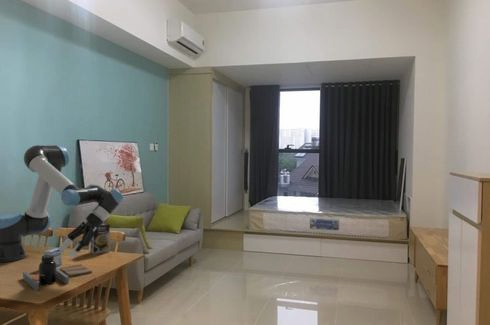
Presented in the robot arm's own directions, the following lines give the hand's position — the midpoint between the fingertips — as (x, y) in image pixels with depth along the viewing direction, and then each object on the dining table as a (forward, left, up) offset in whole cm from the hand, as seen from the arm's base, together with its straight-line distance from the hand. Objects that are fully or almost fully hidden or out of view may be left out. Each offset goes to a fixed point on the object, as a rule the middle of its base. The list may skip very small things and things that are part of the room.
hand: (65, 253), depth 177 cm
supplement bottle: (-1, -7, -12) cm, 14 cm away
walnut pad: (-9, +8, -12) cm, 17 cm away
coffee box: (-36, +31, -12) cm, 49 cm away
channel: (-4, -7, -12) cm, 14 cm away
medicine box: (-24, +2, -12) cm, 27 cm away
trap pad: (-10, -7, -12) cm, 17 cm away
